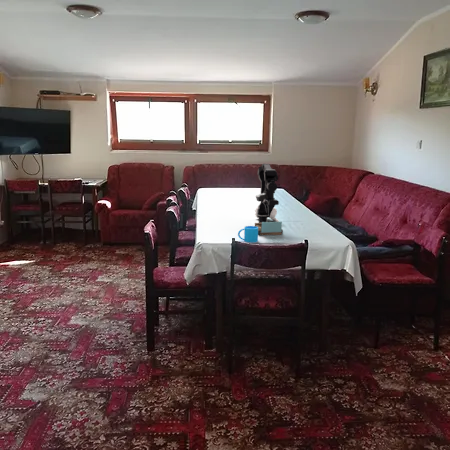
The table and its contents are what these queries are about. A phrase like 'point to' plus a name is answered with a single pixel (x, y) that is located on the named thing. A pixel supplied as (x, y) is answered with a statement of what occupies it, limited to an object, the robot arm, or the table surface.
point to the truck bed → (266, 233)
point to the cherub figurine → (272, 216)
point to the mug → (250, 234)
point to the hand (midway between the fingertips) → (268, 213)
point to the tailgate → (271, 227)
